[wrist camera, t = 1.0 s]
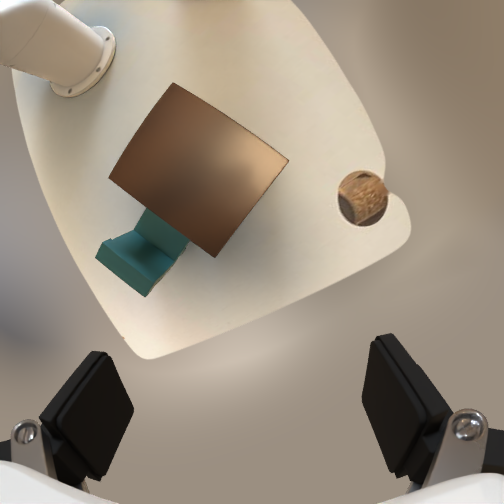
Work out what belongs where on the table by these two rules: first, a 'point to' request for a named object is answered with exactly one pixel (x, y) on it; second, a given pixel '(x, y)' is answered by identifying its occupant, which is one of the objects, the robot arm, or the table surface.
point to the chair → (143, 252)
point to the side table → (196, 168)
